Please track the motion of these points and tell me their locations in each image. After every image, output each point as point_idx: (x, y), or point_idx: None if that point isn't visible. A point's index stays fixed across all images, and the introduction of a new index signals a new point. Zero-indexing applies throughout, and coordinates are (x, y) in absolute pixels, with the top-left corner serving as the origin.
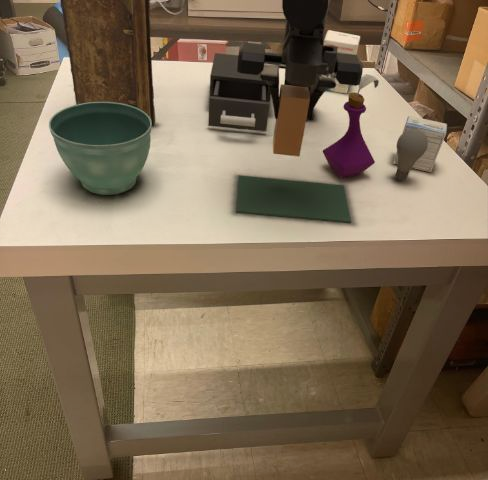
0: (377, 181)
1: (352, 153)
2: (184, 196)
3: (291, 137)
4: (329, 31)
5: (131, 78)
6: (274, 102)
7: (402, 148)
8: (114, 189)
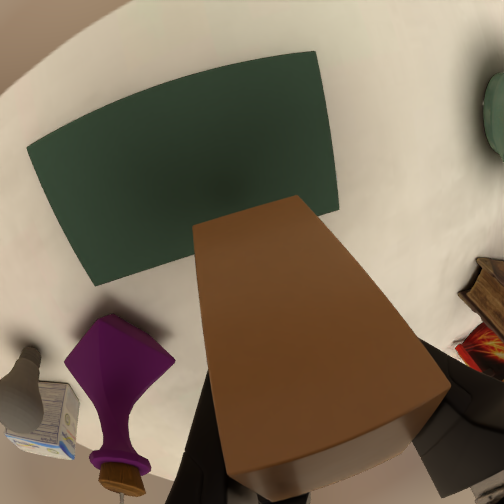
0: (56, 331)
1: (95, 361)
2: (420, 91)
3: (253, 252)
4: None
5: None
6: (428, 351)
7: (18, 392)
8: (500, 75)
